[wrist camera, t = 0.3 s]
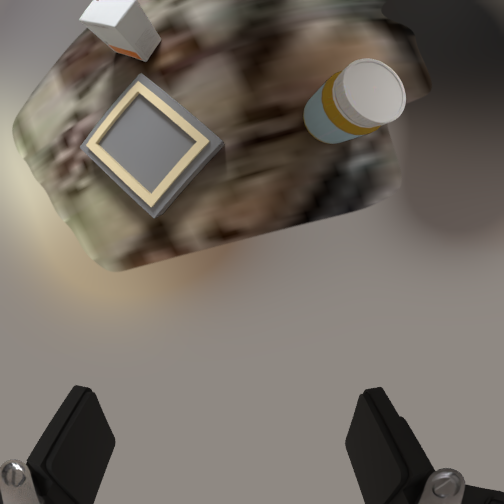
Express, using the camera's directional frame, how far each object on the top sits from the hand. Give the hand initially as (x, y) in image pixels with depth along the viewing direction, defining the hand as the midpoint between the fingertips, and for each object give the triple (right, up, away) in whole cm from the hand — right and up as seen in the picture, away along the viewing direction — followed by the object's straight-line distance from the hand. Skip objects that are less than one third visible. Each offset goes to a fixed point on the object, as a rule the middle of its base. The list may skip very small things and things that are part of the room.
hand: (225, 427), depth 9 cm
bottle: (+11, +23, +26) cm, 37 cm away
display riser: (-12, +20, +26) cm, 35 cm away
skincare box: (-15, +35, +22) cm, 44 cm away
